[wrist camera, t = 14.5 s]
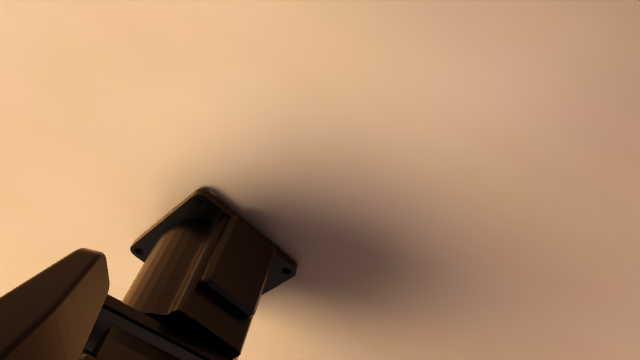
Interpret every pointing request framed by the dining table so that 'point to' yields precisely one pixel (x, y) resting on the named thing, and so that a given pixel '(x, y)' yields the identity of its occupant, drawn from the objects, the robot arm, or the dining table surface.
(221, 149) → the dining table surface
